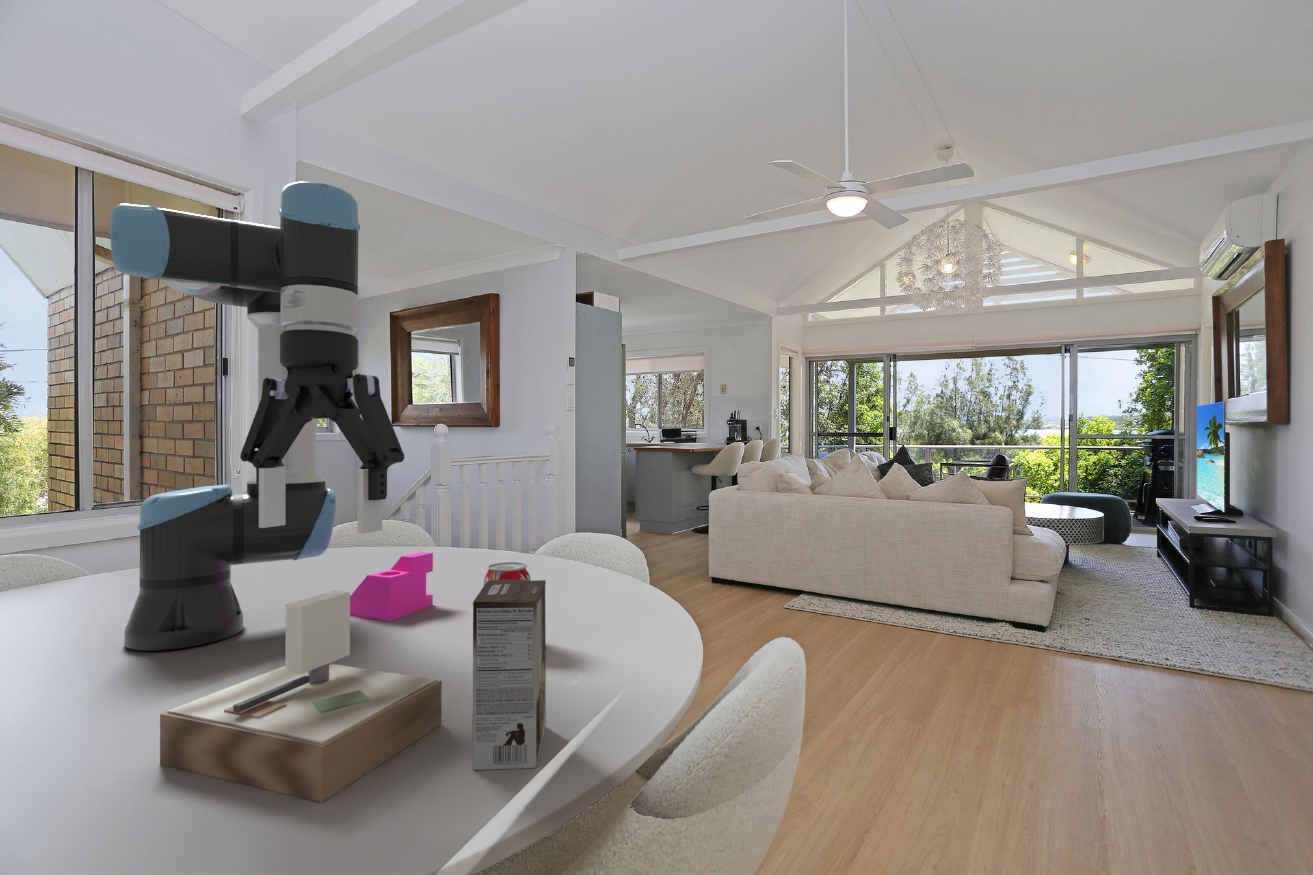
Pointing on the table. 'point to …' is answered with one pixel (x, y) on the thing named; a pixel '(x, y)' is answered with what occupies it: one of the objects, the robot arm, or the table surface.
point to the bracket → (394, 589)
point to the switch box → (301, 729)
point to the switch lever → (311, 641)
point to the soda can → (507, 572)
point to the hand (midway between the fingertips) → (319, 529)
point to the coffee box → (509, 674)
